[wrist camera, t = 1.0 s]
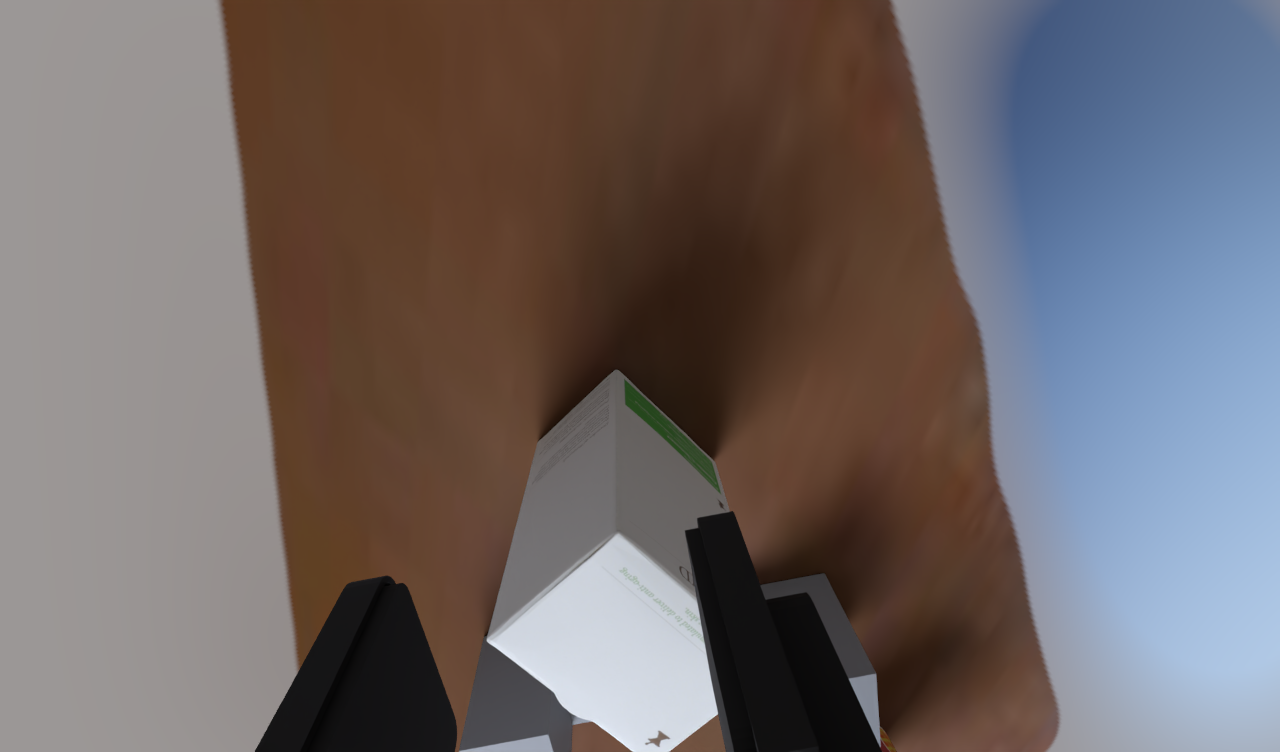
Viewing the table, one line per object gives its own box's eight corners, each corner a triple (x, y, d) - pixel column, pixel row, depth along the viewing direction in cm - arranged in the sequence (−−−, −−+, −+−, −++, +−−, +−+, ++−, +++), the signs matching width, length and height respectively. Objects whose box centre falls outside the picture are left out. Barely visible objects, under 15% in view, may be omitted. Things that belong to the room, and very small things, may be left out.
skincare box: (716, 461, 38) (794, 673, 23) (632, 534, 39) (654, 778, 24) (612, 361, 35) (624, 527, 21) (525, 442, 36) (478, 652, 22)
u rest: (484, 636, 41) (458, 751, 33) (824, 573, 41) (876, 673, 33) (503, 698, 42) (484, 820, 35) (830, 637, 42) (880, 747, 35)
